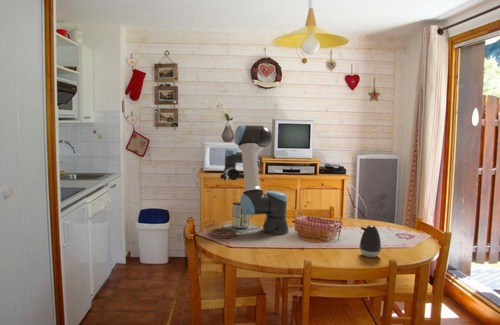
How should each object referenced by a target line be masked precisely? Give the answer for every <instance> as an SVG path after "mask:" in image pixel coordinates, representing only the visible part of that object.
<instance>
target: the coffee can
mask: <svg viewBox="0 0 500 325" xmlns="http://www.w3.org/2000/svg"><path fill="white" fill-rule="evenodd" d="M231 214H232V215H231V216H232V217H231V224H232V227H237V228H247V227H249V224H250V215H246V214H245V213H244V212H243V210H242V208H241V203H240V201H233V202H232V212H231Z"/></svg>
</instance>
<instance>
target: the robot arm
mask: <svg viewBox="0 0 500 325" xmlns="http://www.w3.org/2000/svg"><path fill="white" fill-rule="evenodd" d="M272 141H273V134H272V131H271V130H270V129H269V128H267V126H264V125H252V124H251V125H248V124H247V125H246V124H243V125H242V124H239V125H238V126H237V127H236V128H235V131H234V144H235V145H236V146H237V148H238V150H240V151H237V150H236V149H233V148H232V149H231V148H230V149H228V148H227V149H225V151H224V169H223V173H222V174H220V180H222V179H223V181H227V182H229V180H231V181H235V180H236V181H237V179H238V180H239V179H243V181H244V190H243V192H242V194H241V195H240V201H239V202H240V203H241V208H242V210H243V212H244V213H245V214H246V215H249V216H255V215H257V216H258V215H265V219H264V221H263V225H262V231H263V233H265V234H269V235H285V234H288V233H289V225H288V221H287V205H288V199H287V198H288V195H287V194H286V193H284V192H281V191H274V190H267V191H266V193H264V189H262V188H261V184H260V176H259V174H260V173H259V167H258V166H259V164H258V158H257V157H258V155H259V154H260V153H261V152H262V151H263V150H264V149H265V148H267V147H269V145H270V144H271V143H272ZM237 164H242V168H243V171H242V172H243V173H241V172H239V171H238V170H237V169H236V165H237Z"/></svg>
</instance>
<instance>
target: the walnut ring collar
mask: <svg viewBox="0 0 500 325" xmlns="http://www.w3.org/2000/svg"><path fill="white" fill-rule="evenodd" d="M217 232H228V233H229V232H230V233H229V234H216V233H217ZM209 235H210V237H213V238H215V237H216V239H217V238H219V239H231V238H235V237H236V236H237V231H235V230H232V229H227V228H224V227H222V228H221V227H219V228H213V229H211V230H210V231H209Z"/></svg>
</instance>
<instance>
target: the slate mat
mask: <svg viewBox="0 0 500 325" xmlns="http://www.w3.org/2000/svg"><path fill="white" fill-rule="evenodd" d="M221 227H222V228H227V229H232V230H235V231H236V233H237V232H238V233H243V232H244V233H245V232H248V231H253V230H256V229H259V228H260V226H257V225H254V224H250V223H249V227H247V228H237V227H232V223H228V224H224V225H221Z"/></svg>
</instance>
